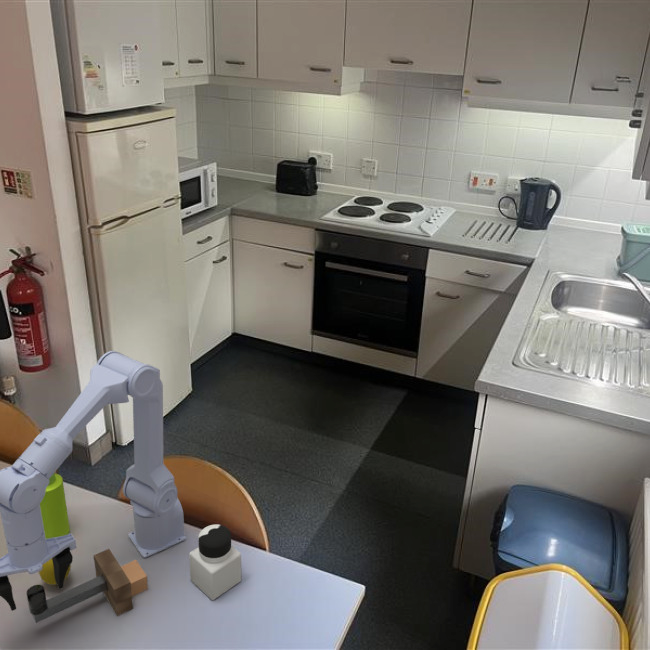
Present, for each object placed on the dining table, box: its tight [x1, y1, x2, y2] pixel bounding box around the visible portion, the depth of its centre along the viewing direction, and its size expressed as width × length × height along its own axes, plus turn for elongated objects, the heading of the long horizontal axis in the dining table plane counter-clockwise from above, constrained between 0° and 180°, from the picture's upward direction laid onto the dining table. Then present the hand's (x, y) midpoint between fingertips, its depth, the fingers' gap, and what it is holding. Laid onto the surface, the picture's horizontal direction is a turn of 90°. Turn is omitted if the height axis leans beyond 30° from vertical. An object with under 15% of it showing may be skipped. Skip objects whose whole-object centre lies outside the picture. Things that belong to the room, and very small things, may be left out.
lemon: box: [38, 559, 72, 585], centre depth 120 cm, size 6×6×8 cm
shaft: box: [26, 575, 108, 624], centre depth 113 cm, size 15×3×6 cm, turn 128°
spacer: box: [120, 559, 149, 597], centre depth 121 cm, size 4×5×4 cm
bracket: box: [93, 548, 134, 617], centre depth 118 cm, size 3×10×6 cm, turn 38°
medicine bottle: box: [188, 523, 242, 601], centre depth 121 cm, size 7×7×12 cm
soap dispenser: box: [40, 471, 71, 539], centre depth 129 cm, size 6×7×20 cm
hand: (36, 595), depth 109 cm, fingers open, 7 cm apart
